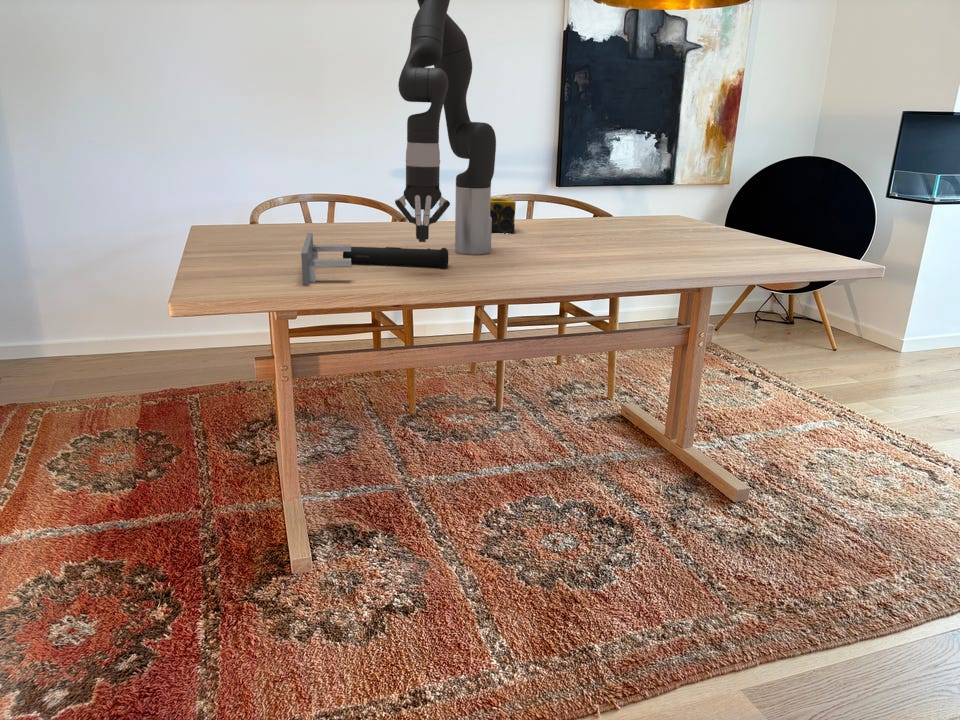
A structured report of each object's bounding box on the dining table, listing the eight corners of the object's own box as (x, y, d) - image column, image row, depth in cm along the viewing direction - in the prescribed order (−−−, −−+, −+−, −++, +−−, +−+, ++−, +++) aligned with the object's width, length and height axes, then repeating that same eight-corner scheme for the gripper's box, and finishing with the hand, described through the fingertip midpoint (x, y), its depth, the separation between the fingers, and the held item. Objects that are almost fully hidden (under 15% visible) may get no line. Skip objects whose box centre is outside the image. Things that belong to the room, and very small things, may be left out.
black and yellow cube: (478, 228, 233) (479, 197, 230) (510, 228, 234) (511, 197, 231) (482, 234, 224) (483, 201, 220) (514, 234, 225) (516, 201, 221)
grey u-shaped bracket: (351, 267, 176) (350, 244, 174) (352, 286, 159) (351, 260, 157) (313, 268, 175) (312, 244, 173) (309, 287, 158) (308, 261, 156)
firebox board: (315, 265, 178) (313, 233, 175) (310, 290, 155) (308, 253, 153) (309, 265, 177) (307, 233, 175) (303, 290, 155) (301, 253, 152)
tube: (448, 268, 180) (448, 245, 178) (446, 273, 175) (446, 250, 173) (348, 264, 181) (347, 242, 179) (343, 269, 176) (342, 246, 174)
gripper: (450, 163, 167) (448, 239, 172) (392, 161, 165) (392, 238, 170) (454, 166, 160) (452, 244, 165) (393, 164, 158) (393, 244, 163)
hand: (422, 241), depth 168 cm, fingers closed
